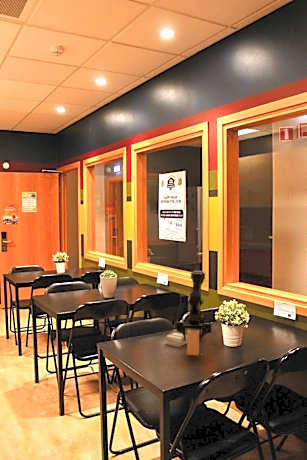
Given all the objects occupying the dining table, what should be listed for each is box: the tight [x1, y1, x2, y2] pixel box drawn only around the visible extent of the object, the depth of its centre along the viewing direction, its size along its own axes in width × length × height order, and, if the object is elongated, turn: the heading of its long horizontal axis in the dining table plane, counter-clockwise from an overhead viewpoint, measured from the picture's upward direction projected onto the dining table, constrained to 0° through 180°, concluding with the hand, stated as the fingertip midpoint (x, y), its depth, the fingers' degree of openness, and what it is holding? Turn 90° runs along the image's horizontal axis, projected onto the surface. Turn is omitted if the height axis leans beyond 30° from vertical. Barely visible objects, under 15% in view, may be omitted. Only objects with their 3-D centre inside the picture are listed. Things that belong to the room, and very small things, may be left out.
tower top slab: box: [165, 332, 187, 343], centre depth 239 cm, size 9×9×2 cm
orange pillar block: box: [186, 328, 200, 356], centre depth 223 cm, size 6×6×12 cm
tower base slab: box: [165, 340, 187, 348], centre depth 240 cm, size 9×9×2 cm
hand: (193, 341), depth 221 cm, fingers open, 8 cm apart
